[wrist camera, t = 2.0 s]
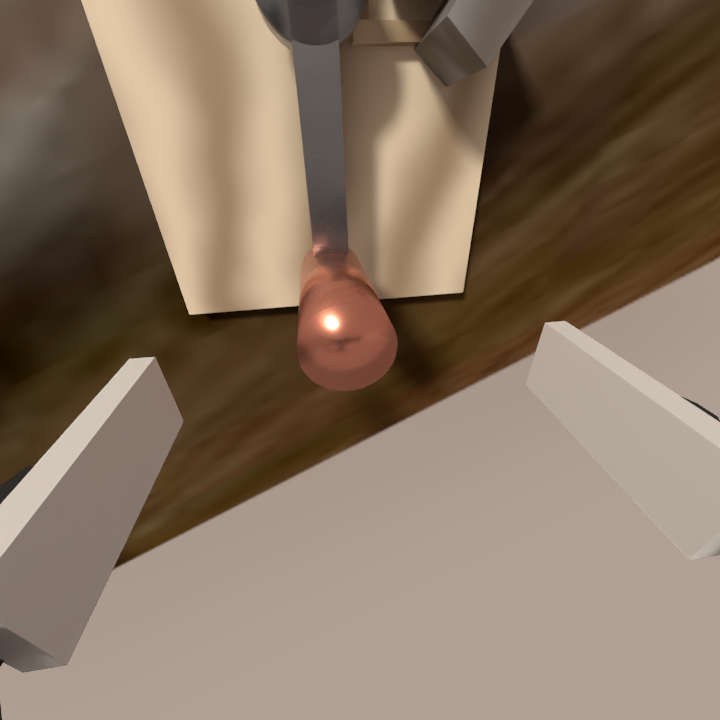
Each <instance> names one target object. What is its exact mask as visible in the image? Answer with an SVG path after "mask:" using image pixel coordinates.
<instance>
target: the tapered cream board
mask: <svg viewBox="0 0 720 720" xmlns="http://www.w3.org/2000/svg"><path fill="white" fill-rule="evenodd" d="M81 1H82V4H83V6H84V9H85V12H86V15H87V18H88V21H89V24H90V27H91V30H92V33H93V36H94V38H95V41H96V44H97V47H98V50H99V53H100V56H101V59H102V62H103V65H104V68H105V70H106V73H107V76H108V79H109V82H110V85H111V88H112V91H113V94H114V97H115V100H116V102H117V105H118V108H119V111H120V114H121V117H122V120H123V123H124V126H125V129H126V132H127V134H128V137H129V140H130V143H131V146H132V149H133V152H134V155H135V158H136V161H137V164H138V166H139V169H140V172H141V175H142V178H143V181H144V184H145V187H146V190H147V193H148V196H149V198H150V201H151V204H152V207H153V210H154V213H155V216H156V219H157V222H158V225H159V228H160V230H161V233H162V236H163V239H164V242H165V245H166V248H167V251H168V254H169V257H170V260H171V262H172V265H173V268H174V271H175V274H176V277H177V280H178V283H179V286H180V289H181V292H182V294H183V297H184V300H185V303H186V306H187V309H188V312H189V315H192V314H204V313H217V312H229V311H241V310H254V309H266V308H278V307H290V306H299V292H300V271H301V264H302V261H303V259H304V257H305V256H306V254H307V253H308V252H309V251H310V250H311V249H312V248H313V241H312V232H311V222H310V212H309V203H308V193H307V184H306V174H305V164H304V155H303V145H302V135H301V126H300V116H299V106H298V97H297V87H296V78H295V68H294V58H293V51H291V50H289V49H288V48H286V47H285V46H284V45H283V44H282V43H280V42H279V40H278V39H277V38H276V37H275V36H274V35H273V34H272V32H271V31H270V30H269V28H268V27H267V25H266V23H265V22H264V20H263V18H262V16H261V14H260V12H259V9H258V7H257V4H256V1H255V0H81ZM532 2H533V0H427V1H414V0H367V1H366V4H365V6H364V9H363V12H362V14H361V17H360V19H359V22H358V24H357V26H356V28H355V30H354V32H353V34H352V35H351V37H350V38H349V40H348V41H347V42H346V43H345V44H344V45H343V46H342V47H341V48H340V49H339V54H340V76H341V97H342V119H343V141H344V163H345V184H346V206H347V228H348V248H350V249H351V250H352V251H353V252H354V253H355V254H356V256H357V257H358V259H359V261H360V263H361V265H362V267H363V269H364V271H365V273H366V275H367V277H368V279H369V281H370V283H371V285H372V287H373V288H374V290H375V292H376V294H377V296H378V298H379V299H389V298H401V297H413V296H426V295H438V294H450V293H463V290H464V283H465V277H466V270H467V264H468V257H469V251H470V244H471V237H472V231H473V224H474V218H475V211H476V205H477V198H478V192H479V185H480V179H481V172H482V165H483V159H484V152H485V146H486V139H487V133H488V126H489V120H490V113H491V106H492V100H493V93H494V87H495V80H496V74H497V67H498V61H499V54H500V48H501V46H502V45H503V43H504V42H505V41H506V39H507V38H508V36H509V35H510V33H511V32H512V30H513V29H514V28H515V26H516V25H517V23H518V22H519V20H520V19H521V17H522V16H523V15H524V13H525V12H526V10H527V9H528V7H529V6H530V4H531V3H532Z"/></svg>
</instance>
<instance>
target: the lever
mask: <svg viewBox="0 0 720 720" xmlns="http://www.w3.org/2000/svg"><path fill="white" fill-rule="evenodd" d="M255 1H256V4H257V7H258V9H259V12H260V14H261V16H262V18H263V20H264V22H265V23H266V25H267V27H268V28H269V30H270V31H271V32H272V34H273V35H274V36H275V37H276V38H277V39H278V40H279V42H280V43H282V44H283V45H284V46H285V47H286V48H288V49H289V50H291V51H293V58H294V68H295V78H296V87H297V97H298V106H299V116H300V126H301V135H302V145H303V155H304V164H305V174H306V184H307V193H308V203H309V212H310V222H311V232H312V241H313V248H312V249H311V250H310V251H309V252H308V253H307V254H306V256H305V257H304V259H303V261H302V264H301V271H300V292H299V314H298V335H297V357H298V361H299V364H300V366H301V368H302V370H303V371H304V373H305V374H306V375H307V376H308V377H309V378H310V379H311V380H312V381H314V382H315V383H316V384H318V385H320V386H322V387H325V388H327V389H331V390H337V391H352V390H357V389H361V388H364V387H367V386H369V385H371V384H373V383H374V382H376V381H378V380H379V379H380V378H381V377H383V376H384V375H385V374H386V372H387V371H388V370H389V369H390V367H391V366H392V364H393V362H394V360H395V357H396V353H397V347H398V342H397V335H396V332H395V329H394V327H393V325H392V324H391V322H390V320H389V318H388V316H387V314H386V312H385V310H384V308H383V306H382V304H381V302H380V300H379V298H378V296H377V294H376V292H375V290H374V288H373V287H372V285H371V283H370V281H369V279H368V277H367V275H366V273H365V271H364V269H363V267H362V265H361V263H360V261H359V259H358V257H357V256H356V254H355V253H354V252H353V251H352V250H351V249H350V248H348V228H347V206H346V184H345V163H344V141H343V119H342V97H341V76H340V54H339V49H340V48H341V47H342V46H343V45H344V44H345V43H346V42H347V41H348V40H349V38H350V37H351V35H352V34H353V32H354V30H355V28H356V26H357V24H358V22H359V19H360V17H361V14H362V12H363V9H364V6H365V4H366V1H367V0H255Z"/></svg>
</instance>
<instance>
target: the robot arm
mask: <svg viewBox="0 0 720 720" xmlns="http://www.w3.org/2000/svg"><path fill="white" fill-rule="evenodd" d="M526 386H527V387H528V388H529V389H530V390H531V392H532V393H533V394H534V395H535V396H536V397H537V398H538V399H539V400H540V401H541V402H542V403H543V404H544V405H545V407H546V408H547V409H548V410H549V411H550V412H551V413H552V414H553V415H554V416H555V417H556V418H557V419H558V420H559V422H560V423H561V424H562V425H563V426H564V427H565V428H566V429H567V430H568V431H569V432H570V433H571V434H572V436H573V437H574V438H575V439H576V440H577V441H578V442H579V443H580V444H581V445H582V446H583V447H584V448H585V449H586V450H587V452H588V453H589V454H590V455H591V456H592V457H593V458H594V459H595V460H596V461H597V462H598V463H599V464H600V466H601V467H602V468H603V469H604V470H605V471H606V472H607V473H608V474H609V475H610V476H611V477H612V478H613V479H614V481H615V482H616V483H617V484H618V485H619V486H620V487H621V488H622V489H623V490H624V491H625V492H626V493H627V495H629V497H630V498H631V499H632V500H633V501H634V502H635V503H636V504H637V505H638V506H639V507H640V508H641V510H642V511H643V512H644V513H645V514H646V515H647V516H648V517H649V518H650V519H651V520H652V521H653V522H654V523H655V525H656V526H657V527H658V528H659V529H660V530H661V531H662V532H663V533H664V534H665V535H666V536H667V537H668V538H669V540H670V541H671V542H672V543H673V544H674V545H675V546H676V547H677V548H678V549H679V550H680V551H681V552H682V554H684V555H685V557H686V558H687V559H688V560H693V559H699V558H705V557H711V556H717V555H719V554H720V420H719V419H718V417H717V416H716V415H714V414H713V413H711V412H709V411H708V410H706V409H705V408H703V407H702V406H700V405H699V404H697V403H695V402H692V401H690V400H688V399H686V398H684V397H681V396H679V395H677V394H676V393H675V392H673V391H672V390H670V389H668V388H667V387H665V386H664V385H662V384H661V383H659V382H658V381H656V380H655V379H653V378H652V377H650V376H649V375H647V374H645V373H644V372H642V371H641V370H639V369H638V368H636V367H635V366H633V365H632V364H630V363H628V362H627V361H626V360H624V359H623V358H621V357H620V356H618V355H616V354H615V353H613V352H612V351H610V350H609V349H607V348H606V347H604V346H603V345H601V344H600V343H598V342H597V341H595V340H594V339H592V338H590V337H589V336H587V335H586V334H584V333H583V332H581V331H580V330H578V329H577V328H575V327H574V326H572V325H571V324H569V323H567V322H566V321H559V322H548V323H545V324H544V328H543V331H542V334H541V337H540V340H539V343H538V346H537V350H536V353H535V356H534V359H533V362H532V365H531V369H530V372H529V375H528V378H527V381H526ZM182 423H183V419H182V416H181V414H180V412H179V410H178V407H177V405H176V403H175V401H174V398H173V396H172V394H171V392H170V389H169V387H168V385H167V383H166V380H165V378H164V376H163V374H162V371H161V369H160V367H159V365H158V362H157V360H156V358H155V357H147V358H136V359H129V360H128V361H127V362H126V363H125V364H124V366H123V367H122V368H121V369H120V370H119V371H118V372H117V373H116V375H115V376H114V377H113V378H112V379H111V380H110V381H109V382H108V384H107V385H106V386H105V387H104V388H103V389H102V390H101V391H100V393H99V394H98V395H97V396H96V397H95V398H94V399H93V401H92V402H91V403H90V404H89V405H88V406H87V407H86V408H85V410H84V411H83V412H82V413H81V414H80V415H79V416H78V417H77V419H76V420H75V421H74V422H73V423H72V424H71V425H70V426H69V428H68V429H67V430H66V431H65V432H64V433H63V434H62V435H61V437H60V438H59V439H58V440H57V441H56V442H55V443H54V444H53V446H52V447H51V448H50V449H49V450H48V451H47V452H46V453H45V455H44V456H43V457H42V458H41V459H40V460H39V461H38V462H37V464H36V465H35V466H30V467H26V468H25V469H23V470H22V471H21V472H19V473H18V474H16V475H15V476H14V477H12V478H11V479H10V480H8V481H7V482H6V483H4V484H3V485H1V486H0V666H1V665H2V663H3V662H4V663H6V664H7V665H10V666H11V667H13V668H15V669H17V670H19V671H21V672H29V671H35V670H41V669H47V668H53V667H59V666H65V665H67V664H68V662H69V660H70V658H71V655H72V654H73V651H74V650H75V648H76V645H77V643H78V641H79V639H80V637H81V635H82V633H83V631H84V629H85V627H86V625H87V622H88V620H89V618H90V616H91V614H92V612H93V610H94V607H95V606H96V604H97V601H98V599H99V597H100V595H101V593H102V591H103V589H104V587H105V585H106V583H107V581H108V578H109V576H110V574H111V572H112V570H113V568H114V566H115V564H116V562H117V560H118V557H119V555H120V553H121V551H122V549H123V547H124V545H125V543H126V541H127V539H128V537H129V534H130V532H131V530H132V528H133V526H134V524H135V522H136V520H137V518H138V516H139V513H140V511H141V509H142V507H143V505H144V503H145V501H146V499H147V497H148V495H149V492H150V490H151V488H152V486H153V484H154V482H155V480H156V478H157V476H158V474H159V472H160V469H161V467H162V465H163V463H164V461H165V459H166V457H167V455H168V453H169V451H170V448H171V446H172V444H173V442H174V440H175V438H176V436H177V434H178V432H179V430H180V428H181V425H182ZM0 720H2V717H1V707H0Z"/></svg>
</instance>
